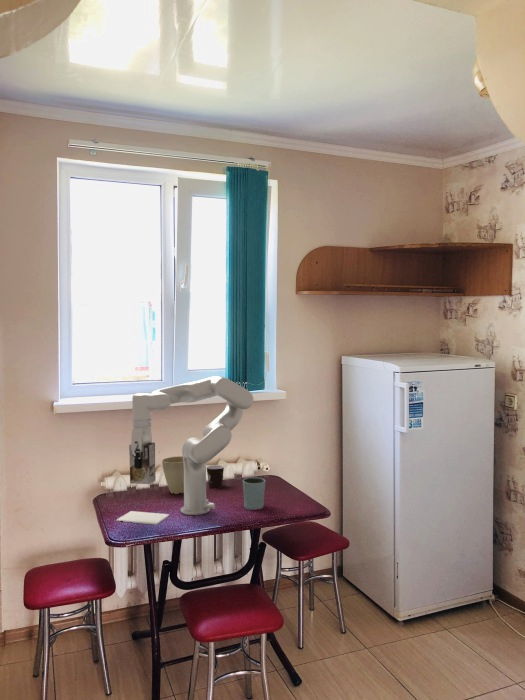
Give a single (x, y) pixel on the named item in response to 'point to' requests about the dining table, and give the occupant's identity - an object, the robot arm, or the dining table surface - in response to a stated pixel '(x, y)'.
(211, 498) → the dining table surface
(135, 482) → the coffee box
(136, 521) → the mat
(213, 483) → the coffee mug
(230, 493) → the dining table surface
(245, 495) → the teal cup
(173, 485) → the plant pot
